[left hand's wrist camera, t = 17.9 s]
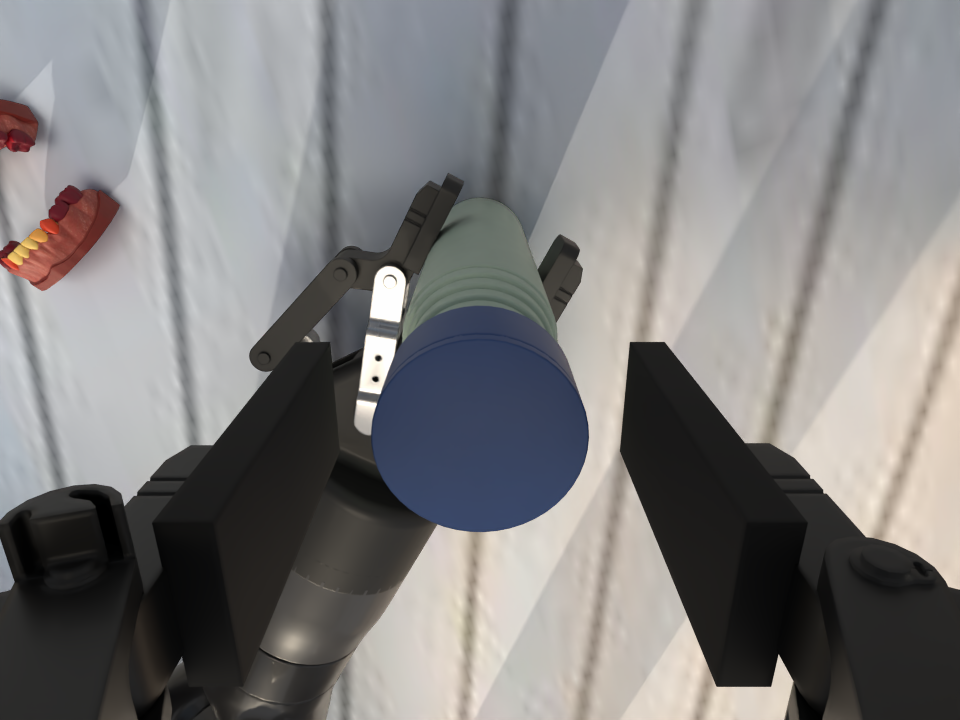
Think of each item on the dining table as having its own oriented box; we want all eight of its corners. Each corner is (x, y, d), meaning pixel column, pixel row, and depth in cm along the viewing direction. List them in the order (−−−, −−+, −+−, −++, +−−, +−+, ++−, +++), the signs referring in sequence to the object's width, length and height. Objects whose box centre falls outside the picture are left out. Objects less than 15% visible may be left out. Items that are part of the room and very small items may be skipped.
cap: (421, 493, 16) (412, 553, 13) (358, 335, 14) (337, 375, 12) (592, 448, 15) (610, 503, 13) (546, 279, 14) (558, 311, 11)
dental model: (8, 318, 28) (-153, 165, 26) (65, 295, 32) (-70, 161, 30) (97, 240, 27) (-64, 73, 24) (144, 226, 31) (10, 82, 28)
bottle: (523, 195, 30) (588, 320, 12) (525, 285, 32) (586, 512, 14) (431, 199, 30) (360, 331, 12) (438, 289, 32) (384, 521, 14)
